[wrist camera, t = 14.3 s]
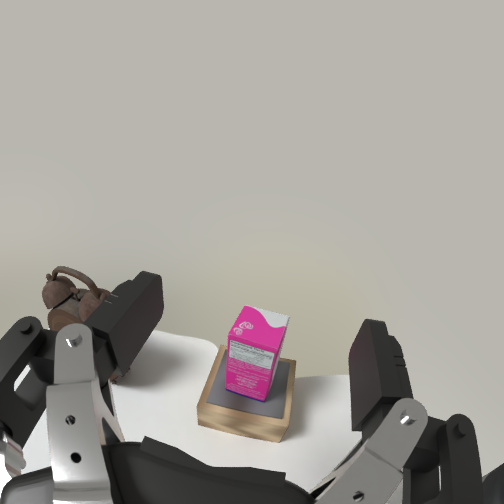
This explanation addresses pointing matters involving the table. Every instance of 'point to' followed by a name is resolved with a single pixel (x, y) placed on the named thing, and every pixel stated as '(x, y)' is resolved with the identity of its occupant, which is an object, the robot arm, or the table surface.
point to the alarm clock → (71, 300)
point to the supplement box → (254, 352)
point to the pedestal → (247, 403)
